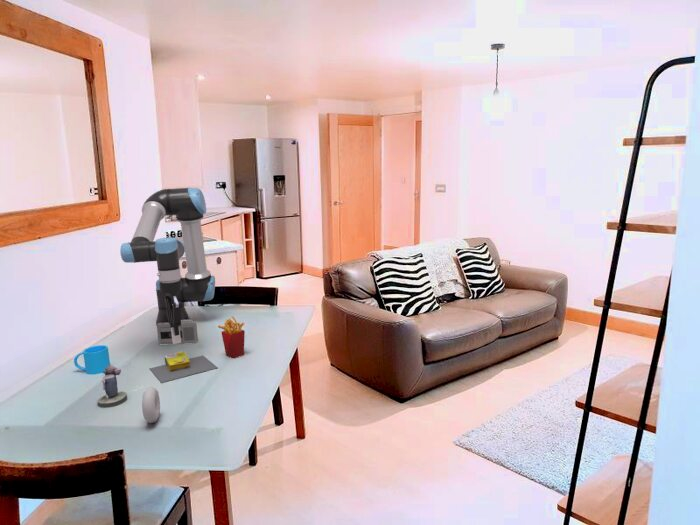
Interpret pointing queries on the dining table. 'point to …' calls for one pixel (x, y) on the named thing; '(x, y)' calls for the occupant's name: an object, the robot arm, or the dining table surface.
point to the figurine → (111, 389)
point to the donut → (151, 405)
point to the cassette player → (186, 332)
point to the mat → (183, 369)
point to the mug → (94, 359)
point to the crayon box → (177, 361)
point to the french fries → (233, 338)
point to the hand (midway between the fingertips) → (176, 342)
